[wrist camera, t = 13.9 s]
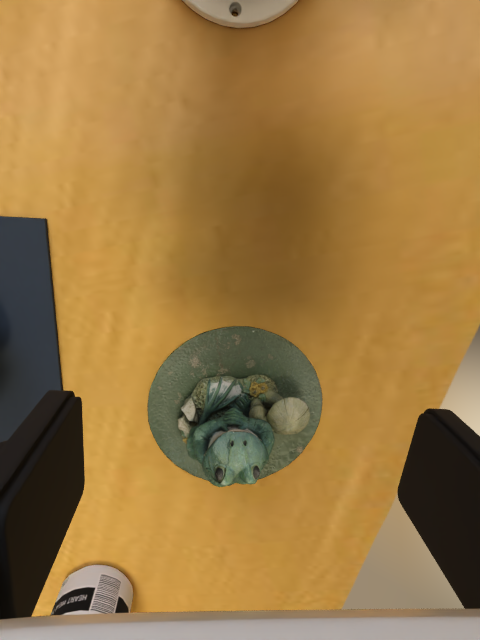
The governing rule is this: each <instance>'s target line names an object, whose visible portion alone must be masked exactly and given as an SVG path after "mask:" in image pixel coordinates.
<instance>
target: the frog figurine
mask: <svg viewBox="0 0 480 640" xmlns="http://www.w3.org/2000/svg"><path fill="white" fill-rule="evenodd" d="M321 409H322V392H321V387H320V383H319V379H318V377H317V374H316V371H315V369H314V367H313V366H312V365H311V363H310V362H309V360H307V357H306V356H305V355H304V354H303V353H302V352H301V351H300V350H299V349H298V348H297V347H296V346H295V345H293V344H292V343H291V342H289V341H288V340H286V339H284V338H283V337H281V336H279V335H277V334H274V333H272V332H267V331H265V330H262V329H258V328H253V327H226V328H220V329H216V330H212V331H208V332H205V333H202V334H200V335H198V336H196V337H194V338H192V339H190V340H188V341H187V342H185V343H184V344H183V345H181V346H180V347H179V348H177V349H176V350H175V351H174V352H173V353H172V354H171V355H170V356H169V357H168V358H167V359H166V360H165V362H164V363H163V364H162V366H161V367H160V369H159V370H158V372H157V374H156V376H155V379H154V381H153V383H152V385H151V388H150V392H149V400H148V421H149V424H150V428H151V431H152V434H153V436H154V438H155V440H156V442H157V444H158V445H159V447H160V449H161V450H162V451H163V453H164V454H165V455H166V456H167V457H168V458H169V459H170V460H171V461H172V462H173V463H174V464H175V465H177V466H178V467H180V468H181V469H183V470H185V471H187V472H189V473H190V474H192V475H194V476H196V477H199V478H202V479H205V480H208V481H210V482H211V483H212V484H213V485H215V486H218V487H223V486H227V485H228V486H230V485H232V484H234V483H239V484H255V483H256V482H257V480H258V479H261V478H264V477H266V476H269V475H271V474H273V473H275V472H277V471H279V470H281V469H282V468H284V467H286V466H287V465H289V464H290V463H291V462H292V461H293V460H295V459H296V458H297V457H298V456H299V455H300V454H301V453H302V451H303V450H304V449H305V447H306V445H307V444H308V443H309V441H310V440H311V439H312V437H313V435H314V434H315V431H316V429H317V427H318V424H319V421H320V416H321Z"/></svg>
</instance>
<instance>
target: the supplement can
mask: <svg viewBox="0 0 480 640" xmlns="http://www.w3.org/2000/svg"><path fill="white" fill-rule="evenodd" d="M132 599H133V587H132V585H131V583H130V582H129V580H128V578H127V577H126V576H125V575H124V574H123V573H122V572H120V571H119V570H118V569H116V568H113V567H110V566H107V565H92V566H86V567H84V568H82V569H80V570H78V571H76V572H74V573H72V574H70V575H69V576H68V577H67V578H66V580H65V581H64V582H63V584H62V587H61V589H60V592H59V594H58V597H57V600H56V602H55V605H54V608H53V610H52V613H51V615H80V614H108V613H130V610H131V605H132ZM51 615H50V616H51Z"/></svg>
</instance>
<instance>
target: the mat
mask: <svg viewBox="0 0 480 640" xmlns="http://www.w3.org/2000/svg"><path fill="white" fill-rule="evenodd" d="M49 390H60V391H63V389H62V378H61V368H60V357H59V346H58V336H57V325H56V315H55V304H54V294H53V283H52V273H51V262H50V252H49V241H48V231H47V220H46V219H41V218H22V217H4V216H0V443H1V442H3V441H8V439H9V438H10V437H11V436H12V434H13V433H14V432H15V431H16V430H17V428H18V427H19V426H20V425H21V423H22V422H23V421H24V420H25V418H26V417H27V416H28V415H29V414H30V412H31V411H32V410H33V409H34V407H35V406H36V405H37V404H38V402H39V401H40V400H41V399H42V397H43V396H44V395H45V394H46V393H47V392H48V391H49Z"/></svg>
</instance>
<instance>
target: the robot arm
mask: <svg viewBox="0 0 480 640" xmlns="http://www.w3.org/2000/svg"><path fill="white" fill-rule="evenodd" d="M182 1H184V2H185V3H186V4H187V5H188V6H189V7H190V8H191V9H192V10H193V11H195V12H196V13H198V14H199V15H201V16H202V17H204V18H205V19H207V20H210V21H212V22H215V23H217V24H220V25H222V26H228V27H235V28H246V27H256V26H259V25H262V24H265V23H269V22H271V21H272V20H274V19H276V18H278V17H280V16H281V15H283V14H284V13H286V12H287V11H288V10H289V9H290V8H291V7H292V6H294V5H295V4H296V3H297V2H298V0H182ZM233 11H235V12H237V13H238V16H236V17H235V16H232V14H231V13H232V12H233ZM84 482H85V478H84V451H83V423H82V401H81V398H80V397H75V395H74V392H73V391H60V390H49V391H48V392H47V393H46V394H45V395H44V396H43V397H42V399H41V400H40V401H39V402H38V404H37V405H36V406H35V407H34V409H33V410H32V411H31V412H30V414H29V415H28V416H27V417H26V418H25V420H24V421H23V422H22V423H21V425H20V426H19V427H18V428H17V430H16V431H15V432H14V433H13V434H12V436H11V437H10V438H9V439H8V441H3V442H1V443H0V640H480V436H479V435H477V434H476V433H475V432H474V431H473V430H472V429H471V428H470V427H469V426H467V425H466V424H465V423H464V422H463V421H462V420H461V419H460V418H459V417H458V416H456V415H455V414H454V413H453V412H452V411H450V410H446V409H427V410H426V411H425V412H424V413H422V414H421V415H420V416H419V418H418V421H417V424H416V428H415V431H414V435H413V438H412V441H411V445H410V448H409V452H408V455H407V459H406V462H405V466H404V469H403V473H402V476H401V479H400V483H399V486H398V498H399V501H400V503H401V505H402V507H403V508H404V510H405V511H406V513H407V515H408V516H409V518H410V520H411V521H412V523H413V524H414V526H415V528H416V529H417V531H418V533H419V534H420V536H421V537H422V539H423V541H424V542H425V544H426V546H427V547H428V549H429V551H430V552H431V554H432V556H433V557H434V559H435V560H436V562H437V564H438V565H439V567H440V569H441V570H442V572H443V573H444V575H445V577H446V578H447V580H448V582H449V583H450V585H451V586H452V588H453V590H454V591H455V593H456V595H457V596H458V598H459V600H460V601H461V603H462V605H463V606H464V608H465V609H357V610H356V609H351V610H349V609H348V610H259V611H199V612H139V613H108V614H80V615H51V616H36V617H31V616H32V613H33V611H34V609H35V606H36V604H37V601H38V599H39V597H40V594H41V592H42V589H43V587H44V585H45V582H46V580H47V578H48V575H49V573H50V570H51V568H52V566H53V563H54V561H55V558H56V556H57V554H58V551H59V549H60V547H61V544H62V542H63V539H64V537H65V535H66V532H67V530H68V528H69V525H70V523H71V520H72V518H73V516H74V513H75V511H76V508H77V506H78V504H79V501H80V499H81V496H82V494H83V490H84Z"/></svg>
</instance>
